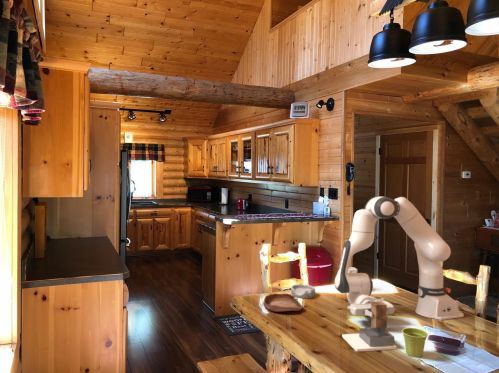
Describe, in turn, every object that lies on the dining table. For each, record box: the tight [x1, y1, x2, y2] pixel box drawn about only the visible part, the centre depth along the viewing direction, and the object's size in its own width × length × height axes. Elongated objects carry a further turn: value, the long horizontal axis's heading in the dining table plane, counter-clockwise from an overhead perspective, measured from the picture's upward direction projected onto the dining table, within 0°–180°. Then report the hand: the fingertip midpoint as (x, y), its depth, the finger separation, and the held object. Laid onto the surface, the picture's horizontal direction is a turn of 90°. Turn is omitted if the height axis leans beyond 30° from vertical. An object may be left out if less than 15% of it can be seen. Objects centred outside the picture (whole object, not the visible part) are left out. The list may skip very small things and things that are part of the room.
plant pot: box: [401, 327, 429, 358], centre depth 158 cm, size 9×9×9 cm
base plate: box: [341, 333, 397, 353], centre depth 169 cm, size 17×15×1 cm
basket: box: [263, 293, 304, 313], centre depth 213 cm, size 22×20×5 cm
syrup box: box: [348, 266, 358, 273], centre depth 243 cm, size 6×6×14 cm
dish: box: [290, 283, 316, 299], centre depth 236 cm, size 14×14×5 cm
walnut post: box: [370, 301, 388, 331], centre depth 184 cm, size 5×5×12 cm
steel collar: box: [358, 327, 395, 347], centre depth 169 cm, size 10×10×4 cm
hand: (379, 314), depth 183 cm, fingers closed on walnut post, 5 cm apart
